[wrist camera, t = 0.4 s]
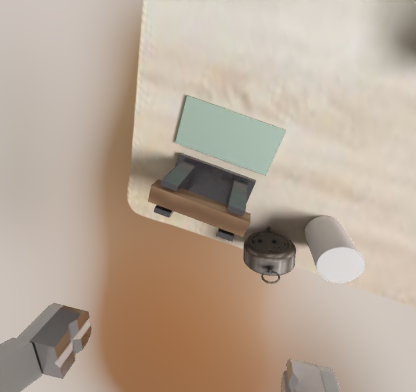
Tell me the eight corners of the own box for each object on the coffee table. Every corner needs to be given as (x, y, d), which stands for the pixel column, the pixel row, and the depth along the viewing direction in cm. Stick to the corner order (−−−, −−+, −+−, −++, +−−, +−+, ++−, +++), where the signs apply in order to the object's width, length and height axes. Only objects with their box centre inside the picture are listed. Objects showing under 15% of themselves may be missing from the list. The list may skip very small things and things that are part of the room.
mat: (188, 95, 48) (187, 95, 47) (285, 130, 47) (286, 130, 46) (176, 142, 52) (175, 142, 51) (265, 174, 51) (265, 175, 51)
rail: (158, 179, 43) (151, 185, 40) (250, 213, 42) (250, 222, 40) (154, 194, 45) (147, 201, 42) (244, 227, 44) (243, 237, 41)
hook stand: (180, 152, 53) (154, 173, 39) (255, 180, 52) (255, 210, 39) (172, 183, 56) (145, 212, 43) (242, 209, 56) (238, 247, 42)
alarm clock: (244, 242, 59) (241, 291, 45) (245, 223, 57) (241, 268, 42) (290, 245, 57) (301, 297, 43) (292, 226, 55) (305, 274, 40)
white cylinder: (301, 243, 56) (312, 278, 46) (309, 213, 53) (322, 244, 42) (337, 248, 55) (357, 286, 44) (347, 218, 52) (371, 251, 41)
